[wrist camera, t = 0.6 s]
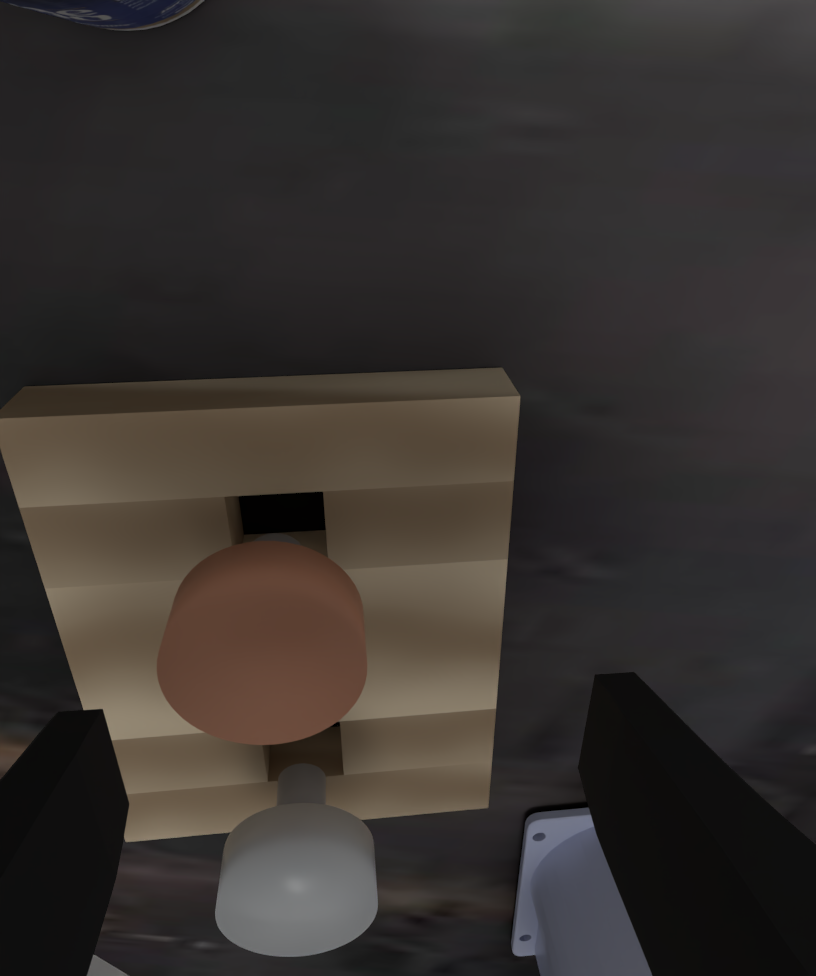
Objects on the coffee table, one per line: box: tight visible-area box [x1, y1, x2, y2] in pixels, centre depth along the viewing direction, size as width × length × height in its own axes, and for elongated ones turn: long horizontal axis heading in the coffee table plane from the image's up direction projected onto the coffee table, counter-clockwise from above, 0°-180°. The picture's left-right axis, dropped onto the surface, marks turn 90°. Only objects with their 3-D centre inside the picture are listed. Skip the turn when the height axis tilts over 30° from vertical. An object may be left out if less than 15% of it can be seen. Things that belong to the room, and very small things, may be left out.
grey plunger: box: [215, 763, 378, 957], centre depth 19 cm, size 4×4×4 cm
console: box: [0, 368, 520, 842], centre depth 21 cm, size 15×12×2 cm
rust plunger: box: [157, 533, 367, 745], centre depth 15 cm, size 4×4×4 cm
